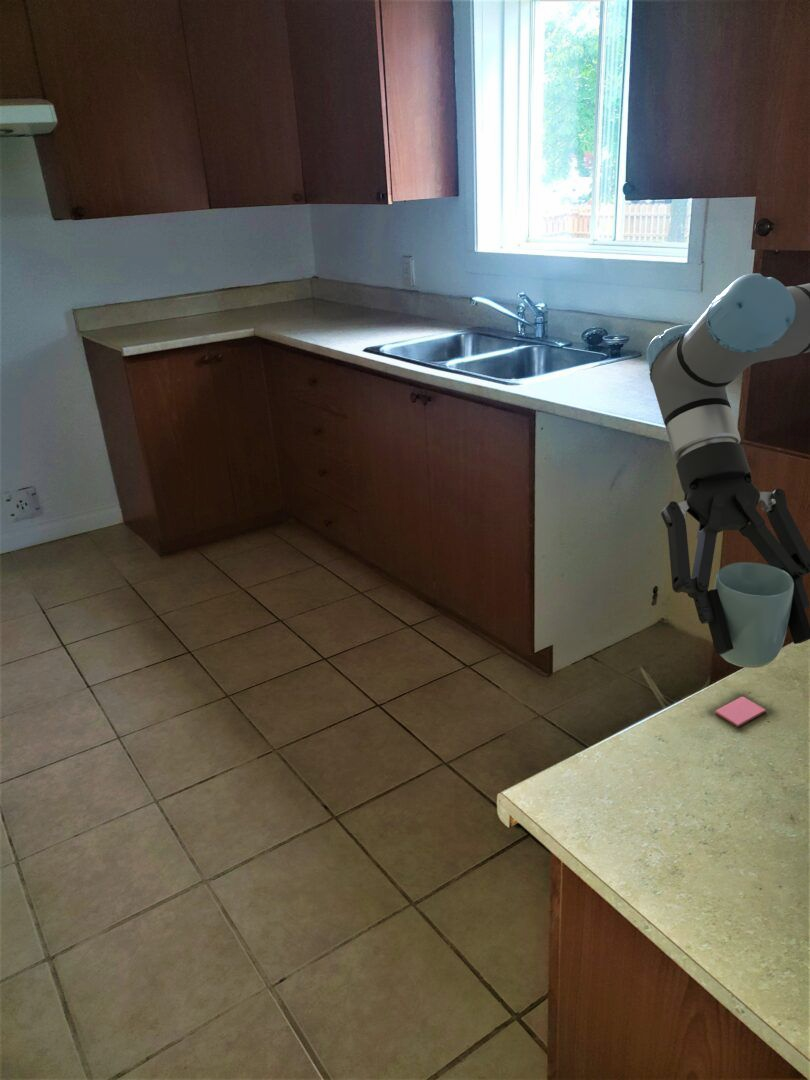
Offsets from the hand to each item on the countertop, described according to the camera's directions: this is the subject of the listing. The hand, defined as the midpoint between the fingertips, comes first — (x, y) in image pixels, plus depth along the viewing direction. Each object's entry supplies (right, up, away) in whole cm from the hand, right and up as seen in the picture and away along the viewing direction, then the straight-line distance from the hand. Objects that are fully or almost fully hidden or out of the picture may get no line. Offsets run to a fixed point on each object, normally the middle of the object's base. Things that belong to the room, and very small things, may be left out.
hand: (764, 646), depth 86 cm
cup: (0, -2, +5) cm, 5 cm away
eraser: (+3, -11, +14) cm, 18 cm away
